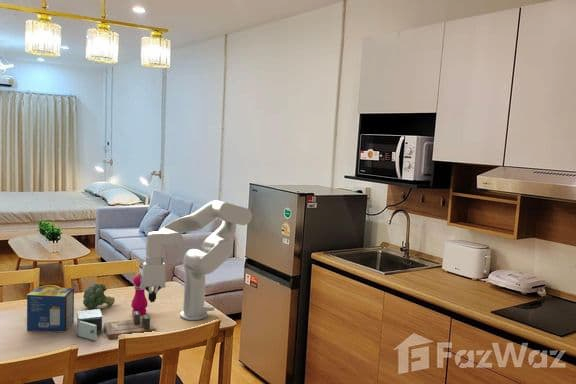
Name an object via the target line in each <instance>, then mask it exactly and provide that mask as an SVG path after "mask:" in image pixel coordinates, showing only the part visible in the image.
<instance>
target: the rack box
mask: <svg viewBox="0 0 576 384" xmlns="http://www.w3.org/2000/svg"><path fill="white" fill-rule="evenodd" d="M76 316H77V317H76V320H80V321H83V322H87V323H90V324H94V325H97V334H100V333H103V315H102V311H101V308H97V309H93V310H92V309H87V310H77V314H76Z"/></svg>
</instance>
